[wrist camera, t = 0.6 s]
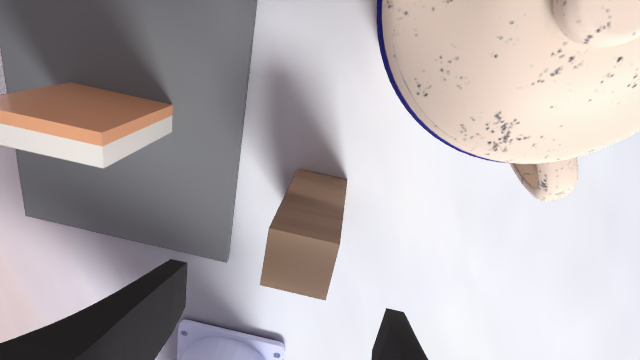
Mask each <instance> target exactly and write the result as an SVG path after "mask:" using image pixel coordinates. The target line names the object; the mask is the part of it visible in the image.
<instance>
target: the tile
mask: <svg viewBox="0 0 640 360" xmlns="http://www.w3.org/2000/svg"><path fill="white" fill-rule="evenodd" d="M172 115H173V105H171V104H167V103H162V102H158V101H153V100H149V99H144V98H140V97H135V96H131V95H126V94H121V93H117V92H112V91H108V90H103V89H99V88H94V87H90V86H85V85H81V84H76V83H72V82H69V83H64V84H58V85H53V86H47V87H41V88H36V89H30V90H25V91H19V92H14V93H8V94H3V95H0V145H3V146H7V147H11V148H16V149H20V150H25V151H29V152H33V153H38V154H42V155H47V156H51V157H55V158H60V159H64V160H69V161H73V162H77V163H82V164H86V165H91V166H95V167H99V168H105V167H107V166H109V165H111V164H113V163H115V162H117V161H119V160H120V159H122V158H124V157H126V156H128V155H130V154H132V153H134V152H135V151H137V150H139V149H141V148H143V147H145V146H147V145H149V144H150V143H152V142H154V141H156V140H158V139H160V138H162V137H163V136H165V135H167V134H169V133H171V132H172Z"/></svg>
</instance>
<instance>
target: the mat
mask: <svg viewBox="0 0 640 360" xmlns="http://www.w3.org/2000/svg"><path fill="white" fill-rule="evenodd" d="M256 7H257V0H0V49H1V56H2V63H3V69H4V76H5V82H6V89H7V94H8V93H14V92H19V91H25V90H30V89H36V88H41V87H47V86H53V85H58V84H64V83H69V82H72V83H76V84H81V85H85V86H90V87H94V88H99V89H103V90H108V91H112V92H117V93H121V94H126V95H131V96H135V97H140V98H144V99H149V100H153V101H158V102H162V103H167V104H171V105H173V115H172V132H171V133H169V134H167V135H165V136H163V137H162V138H160V139H158V140H156V141H154V142H152V143H150V144H149V145H147V146H145V147H143V148H141V149H139V150H137V151H135V152H134V153H132V154H130V155H128V156H126V157H124V158H122V159H120V160H119V161H117V162H115V163H113V164H111V165H109V166H107V167H105V168H99V167H95V166H91V165H86V164H82V163H77V162H73V161H69V160H64V159H60V158H55V157H51V156H47V155H42V154H38V153H33V152H29V151H25V150H20V149H16V148H15V149H16V155H17V162H18V168H19V175H20V182H21V188H22V195H23V201H24V208H25V215H26V216H29V217H33V218H38V219H42V220H46V221H50V222H55V223H59V224H63V225H68V226H72V227H76V228H81V229H85V230H89V231H93V232H98V233H102V234H106V235H111V236H115V237H119V238H124V239H128V240H132V241H136V242H141V243H145V244H149V245H154V246H158V247H162V248H167V249H171V250H175V251H179V252H184V253H188V254H192V255H197V256H201V257H205V258H210V259H214V260H218V261H222V262H227V261H228V259H229V251H230V242H231V233H232V224H233V215H234V206H235V197H236V188H237V179H238V170H239V161H240V152H241V143H242V134H243V125H244V115H245V106H246V97H247V88H248V79H249V70H250V61H251V52H252V43H253V34H254V25H255V16H256Z"/></svg>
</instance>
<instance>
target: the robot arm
mask: <svg viewBox="0 0 640 360" xmlns="http://www.w3.org/2000/svg"><path fill="white" fill-rule="evenodd" d="M186 281H187V263H186V262H182V261H177V260H173V259H170V260H169V261H167V262H165V263H164V264H162V265H160V266H159V267H157V268H155V269H154V270H152V271H150V272H149V273H147V274H146V275H144V276H142V277H141V278H139V279H137V280H136V281H134V282H132V283H131V284H129V285H127V286H126V287H124V288H122V289H121V290H119V291H117V292H115V293H114V294H112V295H110V296H108V297H106V298H104V299H102V300H101V301H99V302H97V303H95V304H93V305H91V306H89V307H87V308H85V309H83V310H81V311H79V312H77V313H75V314H73V315H71V316H68V317H66V318H64V319H62V320H59V321H57V322H55V323H53V324H50V325H48V326H45V327H43V328H40V329H37V330H35V331H32V332H30V333H27V334H24V335H22V336H19V337H17V338H14V339H11V340H8V341H6V342H3V343H0V360H154V359H155V358H156V356H157V355H158V353H159V352H160V350H161V349H162V347H163V346H164V344H165V343H166V341H167V340H168V338H169V337H170V335H171V334H172V332H173V330H174V328H175V326H176V324H177V322H178V320H179V318H180V316H181V314H182V312H183V310H184V308H185V300H186ZM284 352H285V345H284V344H283V343H282V342H279V341H275V340H271V339H266V338H262V337H258V336H254V335H250V334H245V333H241V332H237V331H233V330H229V329H224V328H220V327H216V326H212V325H208V324H203V323H199V322H195V321H191V320H185V319H184V320H182V321H181V322H180V324H179V326H178V344H177V360H283V357H284ZM277 353H279V354H277ZM372 360H428V358H427V357H426V355H425V353H424V351H423V349H422V347H421V345H420V344H419V342H418V340H417V338H416V336H415V334H414V332H413V330H412V328H411V326H410V324H409V321H408V319H407V317H406V315H405V314H404V312H401V311H396V310H392V309H387V308H386V311H385V314H384V317H383V320H382V323H381V326H380V329H379V332H378V335H377V338H376V341H375V344H374V347H373V350H372Z"/></svg>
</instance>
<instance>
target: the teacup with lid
mask: <svg viewBox="0 0 640 360" xmlns="http://www.w3.org/2000/svg"><path fill="white" fill-rule="evenodd" d="M377 33H378V40H379V46H380V52H381V56H382V59H383V63H384V67H385V70H386V72H387V75H388V77H389V80H390V82H391V84H392V86H393V88H394V90H395V92H396V94H397V96H398V97H399V99H400V101H401V102H402V104H403V105H404V107H405V108H406V109H407V111H408V112H409V113H410V114H411V115H412V117H413V118H414V119H415V120H416V121H417V122H418V123H419V124H420V125H421V126H422V127H423V128H424V129H425V130H427V131H428V132H429V133H430V134H432V135H433V136H434V137H435V138H437V139H439V140H440V141H442V142H443V143H445V144H446V145H448V146H450V147H452V148H454V149H456V150H458V151H460V152H463V153H466V154H468V155H471V156H474V157H477V158H481V159H485V160H490V161H495V162H502V163H510V165H511V167H512V169H513V170H514V172H515V174H516V175H517V177H518V179H519V180H520V181H521V183H522V184H523V185H524V187H525V188H526V189H527V190H528V191H529V192H530V193H531V194H532V195H533V196H534V197H536V198H537V199H540V200H542V201H552V200H555V199H559V198H563V197H565V196H567V195H569V194H570V193H571V192H572V191H573V190H574V188H575V186H576V183H577V178H578V163H577V157H579V156H583V155H586V154H589V153H592V152H595V151H598V150H600V149H603V148H605V147H608V146H610V145H612V144H615V143H617V142H619V141H621V140H623V139H625V138H627V137H629V136H630V135H632V134H634V133H636V132H638V131H639V130H640V0H377Z"/></svg>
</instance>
